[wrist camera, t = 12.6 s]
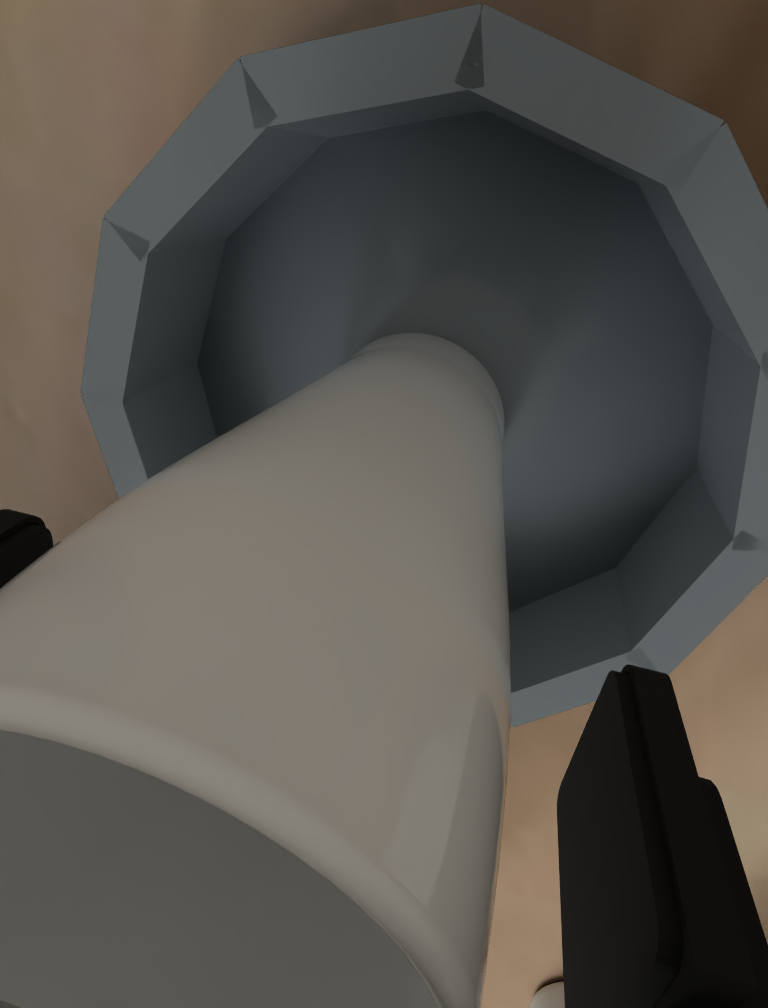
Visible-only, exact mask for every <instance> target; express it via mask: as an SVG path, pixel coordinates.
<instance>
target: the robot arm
mask: <svg viewBox="0 0 768 1008" xmlns="http://www.w3.org/2000/svg"><path fill="white" fill-rule="evenodd" d="M52 547H53V541H52V535H51V532H50V531H49V530H48V529H47V528H46V527H45V524H44V522H43V521H42V519H41V518H39V517H36V516H33V515H29V514H25V513H21V512H17V511H13V510H9V509H2V510H0V588H1V587H3V586H4V585H5V584H6V583H8V582H9V581H10V580H11V579H12V578H14V577H15V576H16V575H18V574H19V573H20V572H21V571H23V570H24V569H25V568H26V567H28V566H29V565H30V564H31V563H33V562H34V561H35V560H36V559H38V558H39V557H40V556H41V555H43V554H44V553H45V552H47V551H48V550H49V549H51V548H52ZM557 823H558V848H559V874H560V899H561V925H562V950H563V976H564V1002H565V1008H768V945H767V942H766V938H765V935H764V932H763V929H762V926H761V922H760V919H759V916H758V913H757V910H756V907H755V903H754V900H753V897H752V894H751V891H750V887H749V884H748V881H747V878H746V875H745V871H744V868H743V865H742V862H741V859H740V856H739V852H738V849H737V846H736V843H735V840H734V836H733V833H732V830H731V827H730V824H729V821H728V817H727V814H726V811H725V808H724V805H723V801H722V798H721V796H720V794H719V791H718V789H717V787H716V786H715V785H714V784H713V782H712V781H711V780H708V779H704V778H701V777H698V773H697V770H696V766H695V763H694V759H693V756H692V752H691V749H690V745H689V742H688V738H687V735H686V731H685V728H684V724H683V721H682V717H681V714H680V710H679V707H678V703H677V700H676V696H675V693H674V689H673V686H672V682H671V680H670V677H669V676H668V675H667V674H666V673H662V672H658V671H654V670H650V669H646V668H642V667H638V666H634V665H630V664H627V665H625V666H624V667H623V669H622V671H621V672H618V671H614V670H611V671H610V672H609V673H608V675H607V677H606V679H605V682H604V684H603V686H602V689H601V691H600V693H599V696H598V698H597V700H596V703H595V705H594V707H593V710H592V712H591V714H590V717H589V719H588V721H587V724H586V726H585V728H584V731H583V733H582V736H581V738H580V740H579V743H578V745H577V747H576V750H575V752H574V754H573V757H572V759H571V761H570V764H569V766H568V768H567V771H566V773H565V775H564V778H563V780H562V782H561V785H560V789H559V793H558V800H557ZM0 1008H20V1007H18V1006H15V1005H12V1004H10V1003H7V1002H4V1001H1V1000H0Z"/></svg>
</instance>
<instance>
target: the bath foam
mask: <svg viewBox="0 0 768 1008" xmlns="http://www.w3.org/2000/svg"><path fill="white" fill-rule="evenodd" d="M530 1008H565V1002H564V982H557V983H553V984H550V985H547V986H545V987H543V988H541V989H540V990H539V991H538V992H537V993H536V994H535V995H534V996H533V998H532V1000H531V1004H530Z"/></svg>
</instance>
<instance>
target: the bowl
mask: <svg viewBox="0 0 768 1008" xmlns="http://www.w3.org/2000/svg"><path fill="white" fill-rule="evenodd" d="M240 58H241V59H238V58H237V60H236V61H235V62H234V63H233V64H232V65H231V67H230V68H229V69H228V70H227V71H226V73H225V74H224V75H223V76H222V77H221V78H220V80H219V81H218V82H217V83H216V84H215V86H214V87H213V88H212V89H211V90H210V91H209V93H208V94H207V95H206V96H205V97H204V99H203V100H202V101H201V102H200V103H199V104H198V106H197V107H196V108H195V109H194V110H193V111H192V113H191V114H190V115H189V116H188V117H187V119H186V120H185V121H184V122H183V123H182V124H181V126H180V127H179V128H178V129H177V130H176V132H175V133H174V134H173V135H172V136H171V137H170V139H169V140H168V141H167V142H166V143H165V145H164V146H163V147H162V148H161V149H160V150H159V152H158V153H157V154H156V155H155V156H154V157H153V159H152V160H151V161H150V162H149V163H148V165H147V166H146V167H145V168H144V169H143V170H142V172H141V173H140V174H139V175H138V176H137V178H136V179H135V180H134V181H133V182H132V183H131V185H130V186H129V187H128V188H127V189H126V191H125V192H124V193H123V194H122V195H121V196H120V198H119V199H118V200H117V201H116V202H115V203H114V205H113V206H112V207H111V208H110V209H109V211H108V212H107V213H106V214H105V215H104V217H105V218H103V221H102V229H101V237H100V245H99V253H98V260H97V268H96V276H95V284H94V292H93V299H92V307H91V315H90V323H89V331H88V338H87V346H86V354H85V362H84V370H83V377H82V385H81V393H82V395H81V397H82V399H83V402H84V405H85V408H86V410H87V413H88V416H89V419H90V421H91V424H92V427H93V430H94V432H95V435H96V438H97V441H98V443H99V446H100V449H101V452H102V454H103V457H104V460H105V463H106V465H107V468H108V471H109V474H110V476H111V479H112V482H113V484H114V487H115V490H116V493H117V495H118V498H120V497H122V496H123V495H125V494H126V493H128V492H129V491H131V490H132V489H133V488H135V487H137V486H138V485H140V484H141V483H143V482H144V481H146V480H148V479H149V478H151V477H152V476H154V475H155V474H157V473H158V472H160V471H162V470H163V469H165V468H167V467H168V466H170V465H172V464H173V463H175V462H176V461H178V460H180V459H181V458H183V457H185V456H186V455H188V454H190V453H192V452H193V451H195V450H197V449H198V448H200V447H202V446H203V445H205V444H207V443H208V442H210V441H212V440H213V439H215V438H217V437H219V436H220V435H222V434H224V433H226V432H227V431H229V430H231V429H233V428H234V427H236V426H238V425H239V424H241V423H243V422H245V421H246V420H248V419H250V418H252V417H253V416H255V415H257V414H259V413H260V412H262V411H264V410H266V409H267V408H269V407H271V406H272V405H274V404H276V403H278V402H279V401H281V400H283V399H285V398H286V397H288V396H290V395H291V394H293V393H295V392H297V391H298V390H300V389H302V388H303V387H305V386H307V385H308V384H310V383H312V382H313V381H315V380H317V379H319V378H320V377H322V376H324V375H325V374H327V373H329V372H330V371H332V370H333V369H335V368H337V367H338V366H340V365H341V364H343V363H344V362H345V361H346V360H347V359H348V358H349V357H351V356H352V355H353V354H354V353H355V352H357V351H358V350H359V349H361V348H362V347H364V346H365V345H367V344H369V343H370V342H373V341H375V340H377V339H379V338H382V337H385V336H388V335H393V334H398V333H408V332H416V333H426V334H431V335H435V336H439V337H442V338H445V339H447V340H450V341H452V342H454V343H456V344H458V345H459V346H461V347H462V348H464V349H466V350H467V351H468V352H470V353H471V354H472V355H473V356H474V357H475V358H476V359H477V360H479V361H480V362H481V364H482V365H483V366H484V367H485V368H486V370H487V371H488V372H489V374H490V375H491V377H492V379H493V381H494V382H495V384H496V386H497V389H498V391H499V394H500V397H501V400H502V404H503V409H504V417H505V432H504V440H503V447H502V474H503V499H504V520H505V540H506V559H507V578H508V597H509V617H510V644H511V697H510V727H511V725H512V726H513V727H515V726H519V725H522V724H525V723H528V722H531V721H534V720H537V719H540V718H544V717H547V716H550V715H553V714H556V713H559V712H562V711H565V710H569V709H572V708H575V707H578V706H581V705H584V704H587V703H591V702H594V701H596V700H597V698H598V696H599V693H600V691H601V689H602V686H603V684H604V682H605V679H606V677H607V675H608V673H609V672H610V671H611V670H614V671H618V672H621V671H622V669H623V667H624V666H625V665H627V664H630V665H634V666H638V667H642V668H646V669H650V670H654V671H658V672H662V673H666V674H667V675H669V674H670V673H671V672H672V671H673V670H674V669H675V668H676V667H677V666H678V665H679V664H680V663H681V662H682V661H683V660H684V659H685V658H686V657H687V656H688V655H689V654H690V653H691V652H692V651H693V650H694V649H695V648H696V646H697V645H698V644H699V643H700V642H701V641H702V640H703V639H704V638H705V637H706V636H707V635H708V634H709V633H710V632H711V631H712V630H713V629H714V628H715V627H716V626H717V625H718V624H719V623H720V622H721V621H722V620H723V619H724V618H725V617H726V616H727V615H728V614H729V613H730V612H731V611H732V610H733V609H734V608H735V607H736V606H737V605H738V604H739V603H740V602H741V601H742V600H743V599H744V598H745V597H746V596H747V595H748V594H749V593H750V592H751V591H752V590H753V589H754V588H755V587H756V586H757V585H758V584H759V583H760V582H761V581H762V580H763V579H764V578H765V577H766V576H767V575H768V208H767V206H766V204H765V202H764V200H763V198H762V195H761V193H760V191H759V189H758V187H757V185H756V183H755V181H754V179H753V177H752V175H751V172H750V170H749V168H748V166H747V164H746V162H745V160H744V158H743V156H742V154H741V152H740V150H739V147H738V145H737V143H736V141H735V139H734V137H733V135H732V133H731V131H730V129H729V127H728V124H727V123H724V124H722V123H723V121H724V120H723V119H721V118H719V117H716V116H714V115H712V114H710V113H708V112H706V111H704V110H702V109H700V108H698V107H696V106H694V105H692V104H690V103H688V102H686V101H684V100H681V99H679V98H677V97H675V96H673V95H671V94H669V93H667V92H665V91H663V90H661V89H659V88H657V87H655V86H653V85H651V84H649V83H646V82H644V81H642V80H640V79H638V78H636V77H634V76H632V75H630V74H628V73H626V72H624V71H622V70H620V69H618V68H616V67H613V66H611V65H609V64H607V63H605V62H603V61H601V60H599V59H597V58H595V57H593V56H591V55H589V54H587V53H585V52H583V51H581V50H578V49H576V48H574V47H572V46H570V45H568V44H566V43H564V42H562V41H560V40H558V39H556V38H554V37H552V36H550V35H548V34H545V33H543V32H541V31H539V30H537V29H535V28H533V27H531V26H529V25H527V24H525V23H523V22H521V21H519V20H517V19H515V18H513V17H510V16H508V15H506V14H504V13H502V12H500V11H498V10H496V9H494V8H492V7H490V6H488V5H486V4H484V5H483V8H482V6H481V3H480V4H475V5H471V6H466V7H462V8H457V9H453V10H448V11H444V12H439V13H435V14H430V15H426V16H421V17H417V18H412V19H408V20H403V21H399V22H394V23H390V24H385V25H380V26H376V27H371V28H367V29H362V30H358V31H353V32H349V33H344V34H340V35H335V36H331V37H326V38H322V39H317V40H313V41H308V42H304V43H299V44H295V45H290V46H286V47H281V48H277V49H272V50H268V51H263V52H259V53H254V54H250V55H245V56H241V57H240Z"/></svg>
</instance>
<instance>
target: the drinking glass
mask: <svg viewBox="0 0 768 1008" xmlns="http://www.w3.org/2000/svg"><path fill="white" fill-rule="evenodd" d="M504 432H505V417H504V409H503V404H502V400H501V397H500V394H499V391H498V389H497V386H496V384H495V382H494V381H493V379H492V377H491V375H490V374H489V372H488V371H487V370H486V368H485V367H484V366H483V365H482V364H481V362H480V361H479V360H477V359H476V358H475V357H474V356H473V355H472V354H471V353H470V352H468V351H467V350H466V349H464V348H462V347H461V346H459V345H458V344H456V343H454V342H452V341H450V340H447V339H445V338H442V337H439V336H435V335H431V334H426V333H416V332H408V333H398V334H393V335H388V336H385V337H382V338H379V339H377V340H375V341H373V342H370V343H369V344H367V345H365V346H364V347H362V348H361V349H359V350H358V351H357V352H355V353H354V354H353V355H352V356H351V357H349V358H348V359H347V360H346V361H345V362H344V363H343V364H341V365H340V366H338V367H337V368H335V369H333V370H332V371H330V372H329V373H327V374H325V375H324V376H322V377H320V378H319V379H317V380H315V381H313V382H312V383H310V384H308V385H307V386H305V387H303V388H302V389H300V390H298V391H297V392H295V393H293V394H291V395H290V396H288V397H286V398H285V399H283V400H281V401H279V402H278V403H276V404H274V405H272V406H271V407H269V408H267V409H266V410H264V411H262V412H260V413H259V414H257V415H255V416H253V417H252V418H250V419H248V420H246V421H245V422H243V423H241V424H239V425H238V426H236V427H234V428H233V429H231V430H229V431H227V432H226V433H224V434H222V435H220V436H219V437H217V438H215V439H213V440H212V441H210V442H208V443H207V444H205V445H203V446H202V447H200V448H198V449H197V450H195V451H193V452H192V453H190V454H188V455H186V456H185V457H183V458H181V459H180V460H178V461H176V462H175V463H173V464H172V465H170V466H168V467H167V468H165V469H163V470H162V471H160V472H158V473H157V474H155V475H154V476H152V477H151V478H149V479H148V480H146V481H144V482H143V483H141V484H140V485H138V486H137V487H135V488H133V489H132V490H131V491H129V492H128V493H126V494H125V495H123V496H122V497H120V498H119V499H117V500H116V501H115V502H113V503H112V504H110V505H109V506H107V507H106V508H104V509H103V510H102V511H100V512H99V513H98V514H96V515H95V516H93V517H92V518H91V519H89V520H88V521H87V522H85V523H84V524H82V525H81V526H80V527H78V528H77V529H76V530H74V531H73V532H72V533H70V534H69V535H68V536H66V537H65V538H64V539H62V540H61V541H60V542H58V543H57V544H56V545H55V546H53V547H52V548H51V549H49V550H48V551H47V552H45V553H44V554H43V555H41V556H40V557H39V558H38V559H36V560H35V561H34V562H33V563H31V564H30V565H29V566H28V567H26V568H25V569H24V570H23V571H21V572H20V573H19V574H18V575H16V576H15V577H14V578H12V579H11V580H10V581H9V582H8V583H6V584H5V585H4V586H3V587H1V588H0V1000H1V1001H4V1002H7V1003H10V1004H12V1005H15V1006H18V1007H20V1008H481V1005H482V996H483V988H484V980H485V973H486V965H487V958H488V950H489V942H490V935H491V927H492V919H493V911H494V903H495V895H496V887H497V878H498V869H499V860H500V851H501V841H502V830H503V820H504V809H505V796H506V783H507V769H508V751H509V731H510V697H511V644H510V617H509V597H508V578H507V559H506V540H505V520H504V499H503V474H502V447H503V440H504Z"/></svg>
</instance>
